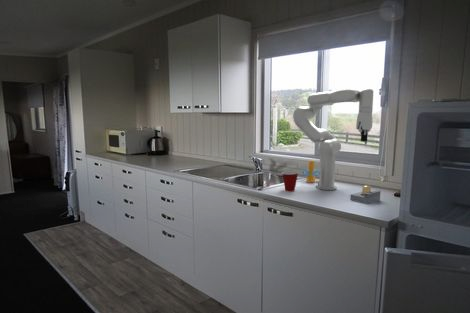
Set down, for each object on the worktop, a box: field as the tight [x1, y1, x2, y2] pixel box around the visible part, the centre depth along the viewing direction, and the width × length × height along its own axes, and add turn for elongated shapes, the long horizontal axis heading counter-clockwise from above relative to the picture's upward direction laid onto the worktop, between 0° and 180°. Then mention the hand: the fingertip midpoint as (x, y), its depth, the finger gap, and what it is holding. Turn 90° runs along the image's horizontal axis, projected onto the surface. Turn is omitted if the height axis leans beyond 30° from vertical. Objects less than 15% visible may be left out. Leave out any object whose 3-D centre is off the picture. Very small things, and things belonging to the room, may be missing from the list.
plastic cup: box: [281, 171, 299, 192], centre depth 206 cm, size 11×11×12 cm
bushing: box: [361, 185, 372, 196], centre depth 183 cm, size 4×4×8 cm
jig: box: [349, 189, 381, 204], centre depth 184 cm, size 11×12×5 cm
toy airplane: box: [302, 160, 320, 183], centre depth 233 cm, size 12×10×15 cm
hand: (363, 141), depth 194 cm, fingers closed
